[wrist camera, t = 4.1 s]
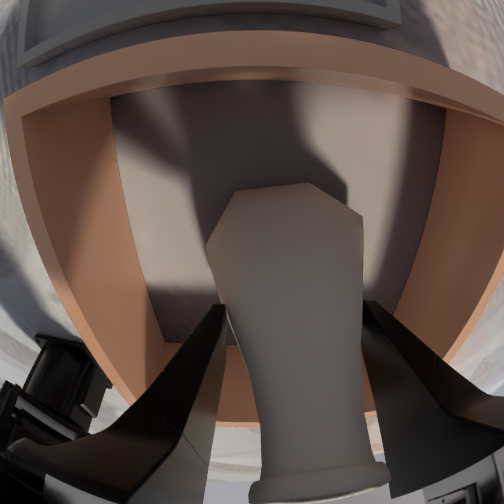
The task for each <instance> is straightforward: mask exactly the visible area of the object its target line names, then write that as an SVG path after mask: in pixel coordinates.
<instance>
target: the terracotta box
mask: <svg viewBox="0 0 504 504" xmlns="http://www.w3.org/2000/svg"><path fill="white" fill-rule="evenodd" d="M227 80H289V81H305V82H317V83H327V84H336V85H343V86H350V87H357V88H363V89H369V90H374V91H379V92H384V93H389V94H394V95H398V96H402V97H406V98H410V99H414V100H418V101H421V102H425V103H428V104H432V105H435V106H438V107H441V108H444V109H446V120H445V129H444V137H443V144H442V151H441V157H440V163H439V168H438V174H437V179H436V184H435V188H434V193H433V197H432V201H431V205H430V209H429V213H428V217H427V221H426V224H425V228H424V231H423V235H422V238H421V241H420V245H419V248H418V251H417V254H416V257H415V260H414V263H413V266H412V269H411V271H410V274H409V277H408V280H407V282H406V285H405V287H404V290H403V293H402V295H401V298H400V300H399V302H398V305H397V307H396V310H395V312H394V314H393V316H394V317H395V318H396V319H397V320H398V321H400V322H401V323H402V324H403V325H404V326H405V327H407V328H408V329H409V330H410V331H411V332H412V333H413V334H415V335H416V336H417V337H418V338H419V339H420V340H421V341H422V342H424V343H425V344H426V345H427V346H428V347H429V348H430V349H431V350H433V351H434V352H435V354H437V355H438V356H439V357H440V358H442V359H443V360H444V361H445V362H446V363H447V364H448V363H449V362H450V361H451V359H452V358H453V357H454V355H455V354H456V352H457V351H458V350H459V348H460V347H461V345H462V344H463V343H464V341H465V340H466V338H467V337H468V335H469V334H470V332H471V331H472V329H473V327H474V326H475V324H476V323H477V321H478V319H479V318H480V316H481V314H482V313H483V311H484V309H485V308H486V306H487V304H488V302H489V300H490V299H491V297H492V295H493V293H494V291H495V289H496V287H497V285H498V283H499V281H500V279H501V277H502V275H503V273H504V95H502V94H500V93H499V92H497V91H495V90H493V89H491V88H490V87H488V86H486V85H484V84H482V83H480V82H478V81H476V80H474V79H472V78H470V77H468V76H466V75H464V74H462V73H459V72H457V71H455V70H453V69H450V68H448V67H445V66H443V65H440V64H438V63H435V62H433V61H430V60H427V59H424V58H422V57H419V56H416V55H413V54H410V53H406V52H403V51H400V50H396V49H393V48H389V47H385V46H381V45H377V44H373V43H369V42H364V41H359V40H354V39H349V38H343V37H337V36H330V35H323V34H315V33H305V32H293V31H272V30H242V31H221V32H209V33H199V34H191V35H184V36H177V37H171V38H165V39H160V40H155V41H150V42H145V43H141V44H137V45H133V46H129V47H125V48H121V49H118V50H114V51H111V52H107V53H104V54H101V55H98V56H95V57H92V58H89V59H86V60H84V61H81V62H78V63H76V64H73V65H71V66H68V67H66V68H63V69H61V70H58V71H56V72H54V73H52V74H49V75H47V76H45V77H43V78H41V79H39V80H37V81H35V82H33V83H31V84H29V85H27V86H25V87H23V88H22V89H20V90H18V91H16V92H14V93H13V94H11V95H9V96H7V97H6V98H4V99H3V103H4V115H5V124H6V132H7V139H8V145H9V151H10V156H11V162H12V166H13V171H14V175H15V180H16V184H17V188H18V191H19V195H20V199H21V202H22V206H23V209H24V212H25V215H26V219H27V222H28V225H29V228H30V230H31V233H32V236H33V239H34V241H35V244H36V247H37V249H38V252H39V254H40V257H41V259H42V261H43V264H44V266H45V268H46V271H47V273H48V275H49V277H50V280H51V282H52V284H53V286H54V288H55V290H56V292H57V294H58V296H59V298H60V300H61V302H62V304H63V306H64V308H65V310H66V312H67V313H68V315H69V317H70V319H71V321H72V322H73V324H74V326H75V328H76V329H77V331H78V333H79V334H80V336H81V338H82V339H83V341H84V343H85V344H86V346H87V347H88V349H89V350H90V352H91V354H92V355H93V357H94V358H95V360H96V361H97V363H98V364H99V365H100V367H101V368H102V370H103V371H104V373H105V374H106V375H107V377H108V378H109V380H110V381H111V382H112V384H113V385H114V386H115V388H116V389H117V390H118V391H119V393H120V394H121V395H122V397H123V398H124V399H125V400H126V402H127V403H128V404H129V405H130V406H131V405H132V404H133V403H134V402H135V401H136V400H137V399H138V398H139V397H140V396H141V395H142V394H143V393H144V392H145V391H146V390H147V389H148V388H149V386H150V385H151V384H152V383H153V381H154V380H155V379H156V378H157V376H158V375H159V374H160V372H161V371H163V369H164V367H165V366H166V365H167V364H168V362H169V361H170V360H171V358H172V357H173V356H174V354H175V353H176V352H177V351H178V349H179V348H180V347H181V345H182V344H183V343H169V342H165V341H164V338H163V335H162V332H161V330H160V327H159V324H158V321H157V318H156V315H155V312H154V309H153V306H152V303H151V300H150V297H149V294H148V291H147V287H146V284H145V281H144V277H143V274H142V270H141V267H140V263H139V259H138V256H137V252H136V248H135V244H134V240H133V236H132V232H131V228H130V224H129V219H128V215H127V210H126V205H125V200H124V195H123V190H122V185H121V179H120V174H119V168H118V162H117V155H116V148H115V141H114V133H113V124H112V114H111V103H110V97H114V96H118V95H122V94H127V93H132V92H137V91H142V90H147V89H153V88H159V87H166V86H173V85H181V84H189V83H199V82H211V81H227ZM360 353H361V365H362V380H363V401H364V414H365V417H368V416H373V415H377V413H376V409H375V404H374V400H373V395H372V391H371V387H370V383H369V379H368V375H367V371H366V367H365V363H364V359H363V354H362V348H361V347H360ZM215 426H223V427H260V423H259V419H258V414H257V409H256V404H255V399H254V394H253V389H252V384H251V379H250V377H249V374H248V371H247V369H246V366H245V363H244V361H243V358H242V355H241V353H240V350H239V347H238V345H227V347H226V365H225V371H224V377H223V383H222V389H221V395H220V401H219V407H218V413H217V419H216V425H215Z"/></svg>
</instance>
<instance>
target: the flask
mask: <svg viewBox="0 0 504 504" xmlns="http://www.w3.org/2000/svg"><path fill="white" fill-rule="evenodd" d="M205 248H206V252H207V256H208V260H209V263H210V267H211V270H212V274H213V278H214V281H215V285H216V288H217V292H218V295H219V298H220V301H221V303H222V304H225V305H226V313H227V319H228V322H229V324H230V327H231V329H232V332H233V334H234V336H235V339H236V342H237V344H238V347H239V350H240V353H241V355H242V358H243V361H244V363H245V366H246V369H247V371H248V374H249V377H250V379H251V384H252V389H253V394H254V399H255V404H256V409H257V414H258V419H259V423H260V428H261V458H262V468H261V476H260V480H259V481H256V482H254V483H253V484H252V485H251V487H250V491H249V494H248V495H249V496H248V497H249V503H250V504H312V503H320V502H326V501H332V500H337V499H342V498H346V497H350V496H354V495H358V494H361V493H365V492H368V491H371V490H374V489H376V488H378V487H381V486H383V485H385V484H386V483H388V482H390V481H391V475H390V471H389V469H388V467H387V465H386V464H385V463H383V462H376V461H375V459H374V456H373V453H372V450H371V445H370V440H369V434H368V429H367V424H366V419H365V414H364V401H363V380H362V365H361V353H360V347H361V331H362V305H363V250H364V230H363V216H361V215H360V214H358V213H357V212H355V211H354V210H352V209H351V208H349V207H347V206H346V205H344V204H343V203H341V202H340V201H338V200H337V199H335V198H333V197H332V196H330V195H329V194H327V193H325V192H324V191H322V190H320V189H319V188H317V187H315V186H314V185H312V184H310V183H299V184H290V185H281V186H272V187H264V188H256V189H248V190H241V191H235V192H234V194H233V196H232V198H231V200H230V201H229V203H228V205H227V207H226V209H225V210H224V212H223V214H222V216H221V218H220V220H219V221H218V223H217V225H216V227H215V229H214V231H213V232H212V234H211V236H210V238H209V240H208V242H207V244H206V246H205Z"/></svg>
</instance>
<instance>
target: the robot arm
mask: <svg viewBox="0 0 504 504" xmlns="http://www.w3.org/2000/svg"><path fill="white" fill-rule="evenodd" d="M34 339H35V341H36V342H37V344H38V345H39V347H40V348H41V351H40V353H39V355H38V357H37V359H36V361H35V363H34V365H33V367H32V369H31V371H30V373H29V375H28V377H27V379H26V381H25V384H24V386H23V388H22V389H21V387H20V386H19V385H18V384H14V385H13V384H12V383H10V382H8V381H7V380H5V382H4V384H3V386H2V388H1V390H0V504H203V499H204V492H205V486H206V480H207V474H208V467H209V461H210V455H211V449H212V443H213V437H214V431H215V425H216V419H217V413H218V407H219V401H220V395H221V389H222V383H223V377H224V371H225V365H226V347H227V313H226V305H225V304H222V303H215V304H213V305H212V306H211V308H210V309H209V310H208V311H207V313H206V314H205V315H204V317H203V318H202V319H201V321H200V322H199V323H198V324H197V326H196V327H195V328H194V330H193V331H192V332H191V334H190V335H189V336H188V338H187V339H186V340H185V341H184V343H183V344H182V345H181V347H180V348H179V349H178V351H177V352H176V353H175V354H174V356H173V357H172V358H171V360H170V361H169V362H168V364H167V365H166V366H165V367H164V369H163V371H161V372H160V374H159V375H158V376H157V378H156V379H155V380H154V381H153V383H152V384H151V385H150V386H149V388H148V389H147V390H146V391H145V392H144V393H143V394H142V395H141V396H140V397H139V398H138V399H137V400H136V401H135V402H134V403H133V404H132V405H131V406H130V407H129V408H128V409H127V410H126V411H125V412H124V413H123V414H122V415H121V416H120V417H119V418H118V419H117V420H116V421H115V422H114V423H113V424H112V425H110V426H109V427H108V428H106V429H105V430H103V431H101V432H98V433H95V434H90V433H88V431H89V427H90V424H91V421H92V418H96V417H97V415H98V412H99V409H100V406H101V402H102V399H103V396H104V393H105V390H106V388H108V389H112V386H113V384H112V382H111V381H110V380H109V378H108V377H107V375H106V374H105V373H104V371H103V370H102V368H101V367H100V365H99V364H98V363H97V361H96V360H95V358H94V357H93V355H92V354H91V352H90V350H89V349H88V348H87V346H85V345H84V344H81V343H76V342H71V341H66V340H61V339H57V338H52V337H48V336H43V335H39V334H36V335H35V337H34ZM361 348H362V354H363V359H364V363H365V367H366V371H367V375H368V379H369V383H370V387H371V391H372V395H373V400H374V404H375V409H376V413H377V418H378V423H379V427H380V432H381V438H382V443H383V448H384V452H385V453H384V455H385V461H386V465H387V467H388V469H389V471H390V475H391V481H390V482H389V488H390V495H391V499H393V498H396V497H400V496H403V495H406V494H409V493H412V492H414V491H417V490H420V489H423V494H424V499H425V504H504V397H502V396H493V395H489V394H486V393H485V392H483V391H481V390H480V389H479V388H477V387H476V386H475V385H474V384H472V383H471V382H470V381H468V380H467V379H466V378H464V377H463V376H462V375H461V374H459V373H458V372H457V371H456V370H454V369H453V368H452V367H451V366H449V365H448V364H447V363H446V362H445V361H444V360H443V359H442V358H440V357H439V356H438V355H437V354H435V352H434V351H433V350H431V349H430V348H429V347H428V346H427V345H426V344H425V343H424V342H422V341H421V340H420V339H419V338H418V337H417V336H416V335H415V334H413V333H412V332H411V331H410V330H409V329H408V328H407V327H405V326H404V325H403V324H402V323H401V322H400V321H398V320H397V319H396V318H395V317H394V316H393V315H391V314H390V313H389V312H388V311H387V310H386V309H384V308H383V307H382V306H381V305H380V304H378V303H377V302H376V301H375V300H373V299H370V300H363V305H362V331H361ZM16 403H17V404H19V405H20V406H21V407H23V408H24V409H26V410H27V411H29V412H30V413H31V414H33V415H34V416H36V417H37V418H39V419H40V420H42V421H43V422H45V423H46V424H48V425H49V426H51V427H53V428H54V429H56V430H58V431H59V432H61V433H63V434H64V435H66V436H68V437H70V438H72V439H73V440H71V439H70V438H68V437H66V436H64V435H63V434H61V433H59V432H58V431H56V430H54V429H52V428H51V427H49V426H48V425H46V424H45V423H43V422H41V421H40V420H39V419H37V418H36V417H34V416H32V415H31V414H30V413H28V412H27V411H25V410H24V409H18V408H17V407H15V404H16Z"/></svg>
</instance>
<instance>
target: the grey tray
mask: <svg viewBox="0 0 504 504" xmlns="http://www.w3.org/2000/svg"><path fill="white" fill-rule="evenodd" d="M233 13H281V14H296V15H307V16H316V17H324V18H331V19H337V20H343V21H348V22H353V23H358V24H363V25H367V26H371V27H375V28H379V29H383V30H387V29H390V28H393V27H396V26H399V25H402V21H401V8H400V0H22V4H21V11H20V18H19V26H18V37H17V54H16V68H25V67H36V66H38V65H40V64H42V63H44V62H46V61H48V60H50V59H52V58H54V57H56V56H58V55H60V54H63V53H65V52H67V51H69V50H72V49H74V48H77V47H79V46H82V45H84V44H87V43H90V42H92V41H95V40H98V39H101V38H104V37H107V36H110V35H113V34H116V33H120V32H123V31H127V30H130V29H134V28H138V27H142V26H146V25H151V24H155V23H160V22H165V21H171V20H177V19H183V18H190V17H197V16H206V15H217V14H233Z"/></svg>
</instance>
